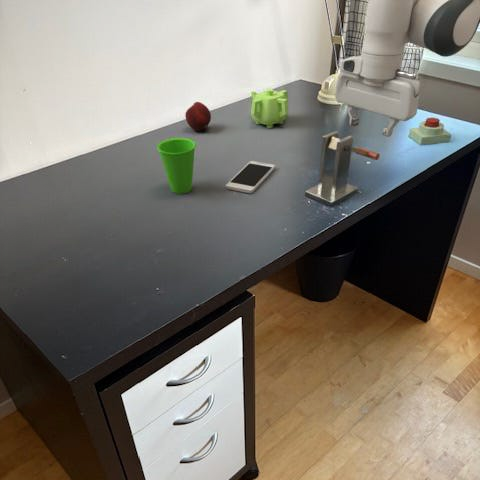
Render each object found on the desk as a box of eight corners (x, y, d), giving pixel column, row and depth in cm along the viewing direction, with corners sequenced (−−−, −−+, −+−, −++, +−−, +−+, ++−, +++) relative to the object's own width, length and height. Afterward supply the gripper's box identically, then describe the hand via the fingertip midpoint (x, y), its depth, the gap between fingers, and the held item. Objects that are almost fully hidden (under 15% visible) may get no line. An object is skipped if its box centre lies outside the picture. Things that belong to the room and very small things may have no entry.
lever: (356, 155, 119) (360, 145, 118) (377, 162, 115) (381, 152, 114) (321, 145, 107) (325, 134, 106) (342, 152, 103) (346, 141, 102)
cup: (155, 190, 117) (148, 146, 110) (182, 177, 122) (178, 134, 115) (180, 201, 113) (174, 156, 105) (207, 187, 118) (203, 144, 110)
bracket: (331, 181, 118) (337, 125, 109) (357, 192, 114) (366, 134, 105) (305, 195, 113) (309, 137, 104) (331, 207, 109) (338, 147, 100)
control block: (436, 132, 140) (439, 118, 137) (449, 141, 135) (453, 127, 132) (408, 136, 139) (411, 122, 136) (420, 145, 134) (423, 130, 131)
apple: (199, 123, 151) (197, 97, 145) (217, 129, 147) (216, 102, 141) (182, 130, 147) (179, 103, 141) (200, 136, 143) (198, 108, 137)
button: (433, 123, 136) (435, 116, 135) (440, 127, 133) (442, 121, 132) (422, 124, 136) (423, 118, 134) (429, 129, 133) (430, 122, 132)
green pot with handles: (287, 116, 154) (288, 83, 147) (289, 129, 145) (290, 95, 139) (250, 116, 154) (250, 84, 148) (250, 130, 146) (250, 96, 139)
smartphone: (225, 188, 117) (225, 185, 116) (250, 163, 127) (250, 160, 127) (251, 193, 114) (251, 190, 114) (275, 168, 125) (275, 164, 124)
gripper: (431, 71, 99) (416, 138, 108) (351, 54, 110) (344, 116, 119) (414, 78, 96) (400, 146, 105) (334, 60, 107) (328, 122, 116)
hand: (369, 130), depth 112 cm, fingers open, 8 cm apart
